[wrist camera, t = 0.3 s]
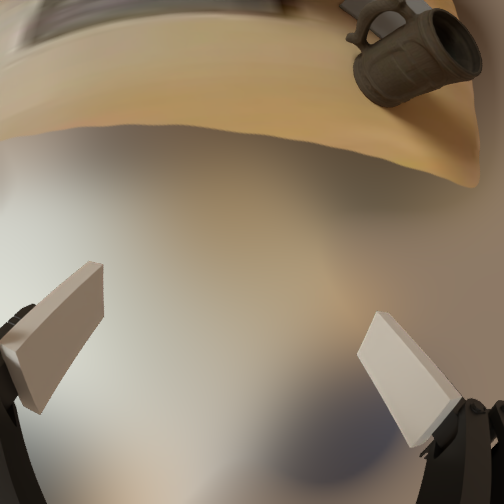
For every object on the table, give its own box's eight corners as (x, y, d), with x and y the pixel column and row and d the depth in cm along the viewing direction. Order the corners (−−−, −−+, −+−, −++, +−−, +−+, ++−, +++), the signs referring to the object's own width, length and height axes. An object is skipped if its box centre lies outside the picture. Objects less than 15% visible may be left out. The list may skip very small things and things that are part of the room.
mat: (428, 85, 37) (430, 85, 36) (338, 6, 31) (340, 4, 31) (452, 32, 34) (454, 31, 33) (381, -32, 28) (382, -33, 28)
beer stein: (412, 77, 36) (485, 40, 16) (400, 121, 38) (485, 94, 18) (339, 32, 34) (390, -34, 14) (320, 75, 35) (378, 8, 16)
